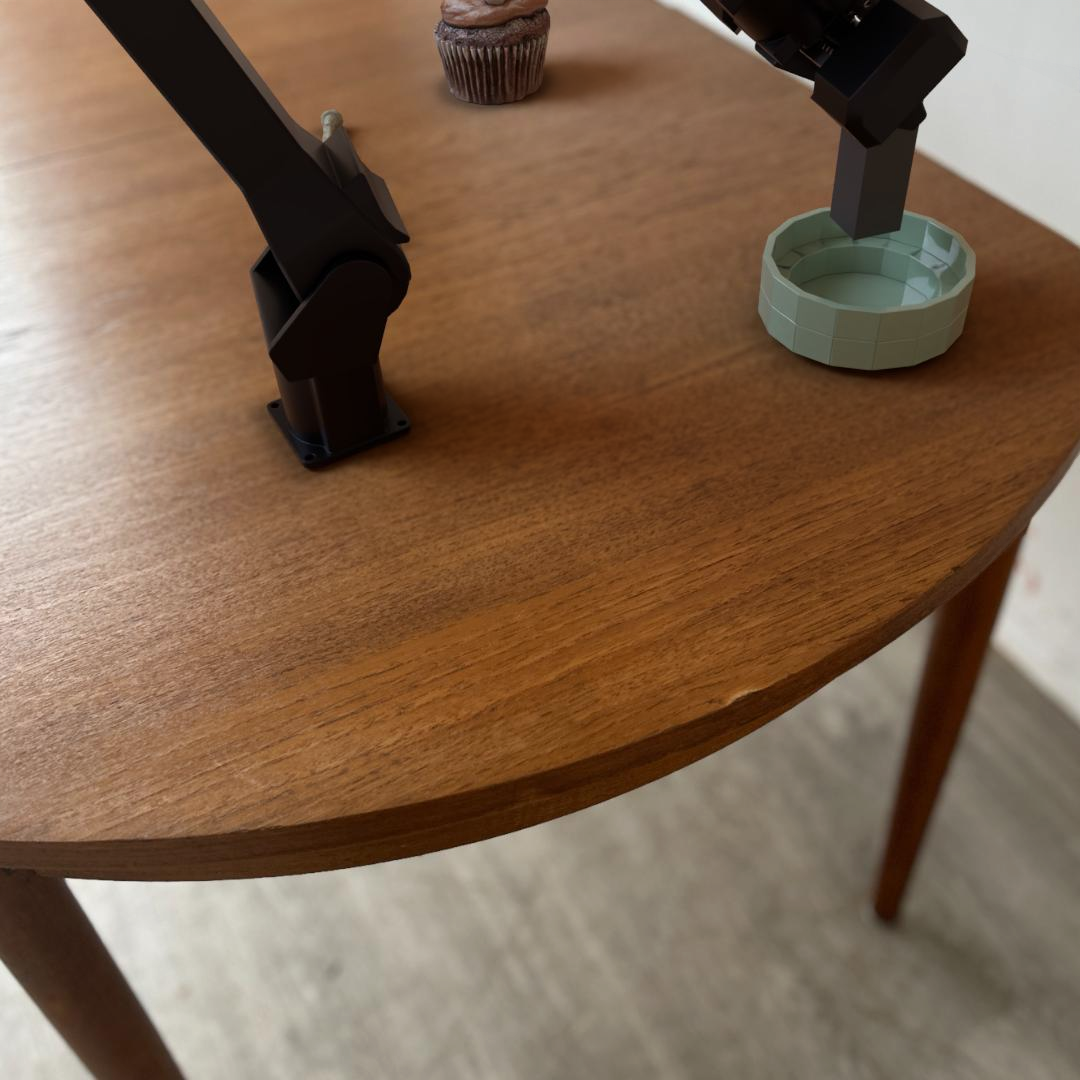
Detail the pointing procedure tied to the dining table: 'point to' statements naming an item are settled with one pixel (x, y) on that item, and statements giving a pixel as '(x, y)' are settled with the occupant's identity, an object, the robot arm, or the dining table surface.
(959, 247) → the bowl
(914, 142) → the scraper
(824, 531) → the dining table surface
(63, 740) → the dining table surface
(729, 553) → the dining table surface
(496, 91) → the cupcake
